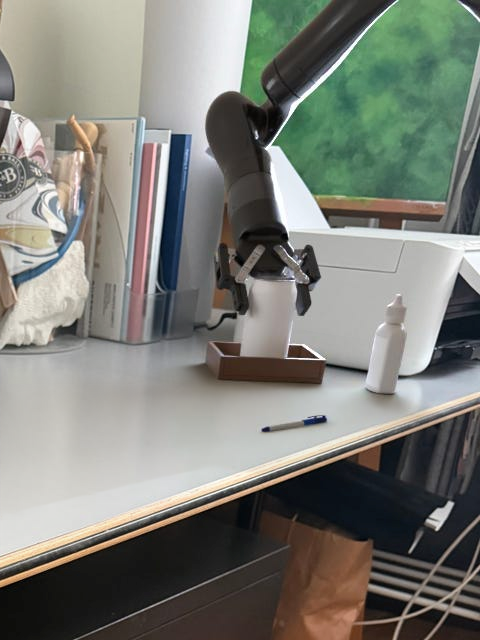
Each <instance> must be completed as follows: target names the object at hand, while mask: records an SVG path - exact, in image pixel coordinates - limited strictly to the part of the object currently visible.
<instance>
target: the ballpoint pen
mask: <svg viewBox="0 0 480 640" xmlns="http://www.w3.org/2000/svg"><path fill="white" fill-rule="evenodd" d="M327 421H328V418H327V416H326V415H323V414H319V415H318V414H317V415H311V416H307V418H306V419H302V420H301V419H300V420H298V421H291V422H286V423H279V424H275V425H269V426H264V427H263V428H261V429H260V430H261V432H263V433H266V432H267V433H269V432H273V431H281V430H286V429H291V428H298V427H305V426H311V425H316V424H317V425H318V424H322V423H326V422H327Z"/></svg>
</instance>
